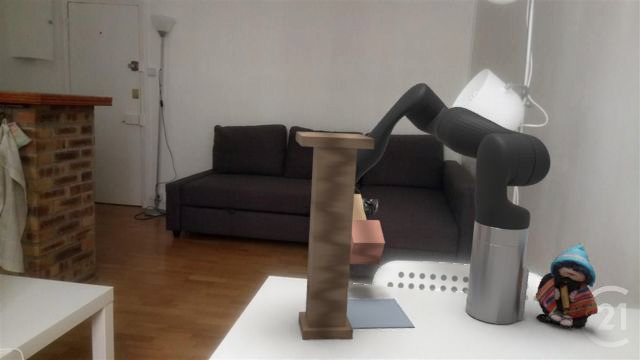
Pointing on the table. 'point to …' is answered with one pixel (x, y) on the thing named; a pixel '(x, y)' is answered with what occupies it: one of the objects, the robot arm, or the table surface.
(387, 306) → the pad
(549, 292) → the figurine
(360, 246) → the mallet
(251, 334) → the table surface
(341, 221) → the wooden pedestal column
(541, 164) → the robot arm
